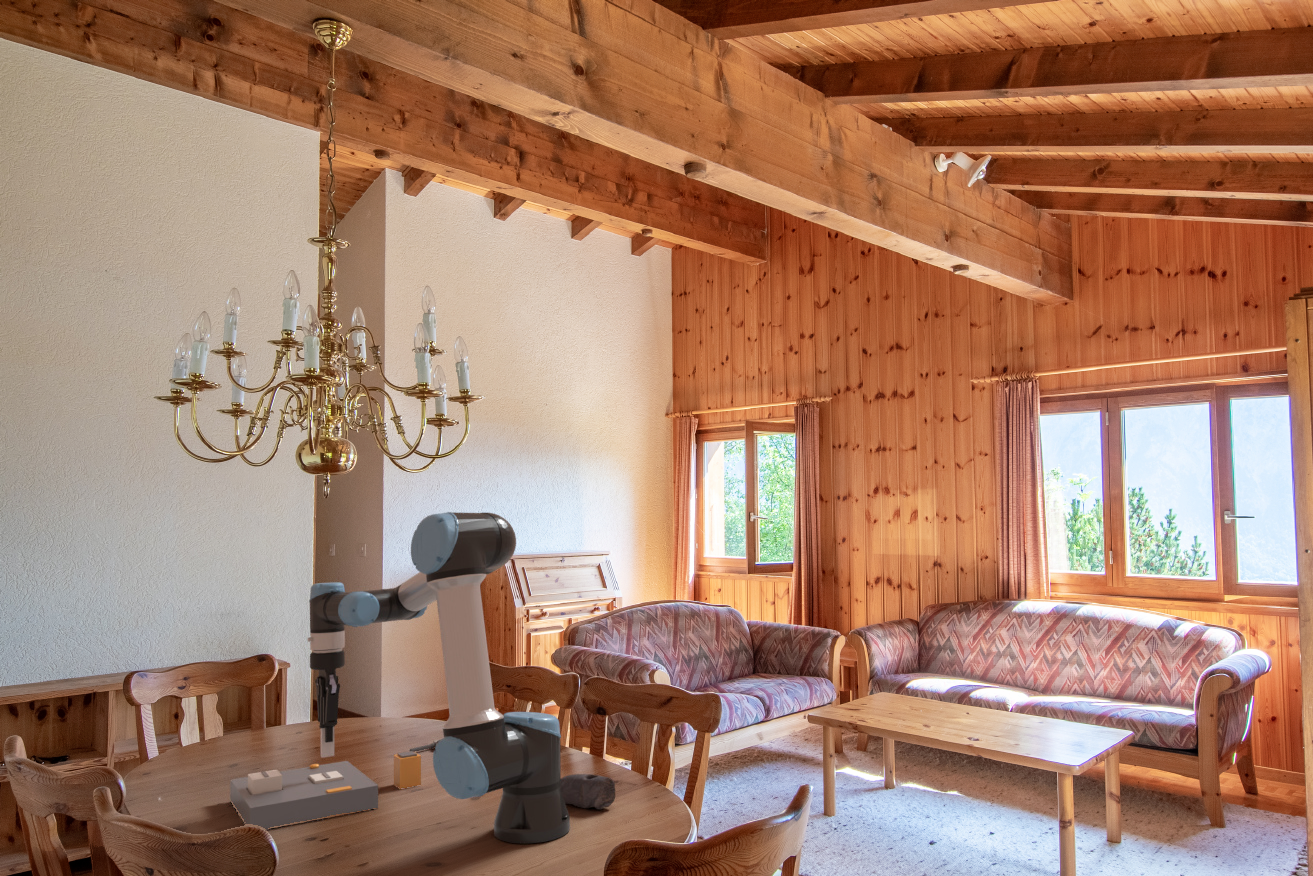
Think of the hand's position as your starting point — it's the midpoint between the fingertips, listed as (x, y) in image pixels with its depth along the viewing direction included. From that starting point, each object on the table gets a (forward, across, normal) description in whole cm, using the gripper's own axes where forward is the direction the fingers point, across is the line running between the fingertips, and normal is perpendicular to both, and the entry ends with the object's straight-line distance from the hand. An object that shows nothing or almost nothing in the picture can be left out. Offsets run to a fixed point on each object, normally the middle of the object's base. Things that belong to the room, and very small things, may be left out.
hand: (327, 756), depth 206 cm
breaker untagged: (+7, -1, -13) cm, 15 cm away
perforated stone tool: (+11, +38, +45) cm, 60 cm away
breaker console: (+10, -1, -5) cm, 11 cm away
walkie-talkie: (+10, -29, +39) cm, 50 cm away
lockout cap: (+10, -2, +19) cm, 21 cm away
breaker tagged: (+9, -1, 0) cm, 9 cm away
